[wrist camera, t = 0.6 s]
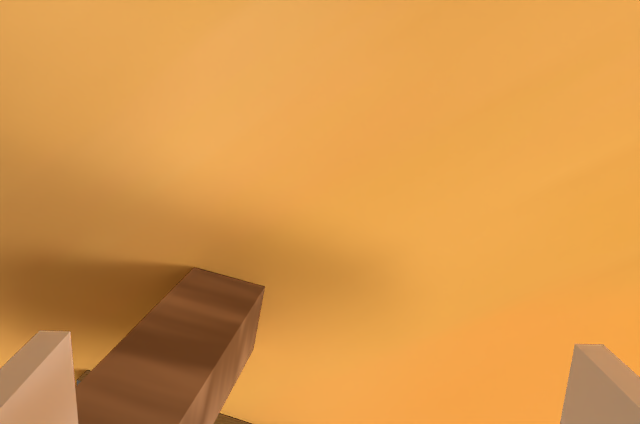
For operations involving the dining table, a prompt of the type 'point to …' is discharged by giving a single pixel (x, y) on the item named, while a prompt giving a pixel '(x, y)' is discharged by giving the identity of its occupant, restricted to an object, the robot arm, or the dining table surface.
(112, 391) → the walnut post
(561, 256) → the dining table surface
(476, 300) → the dining table surface
